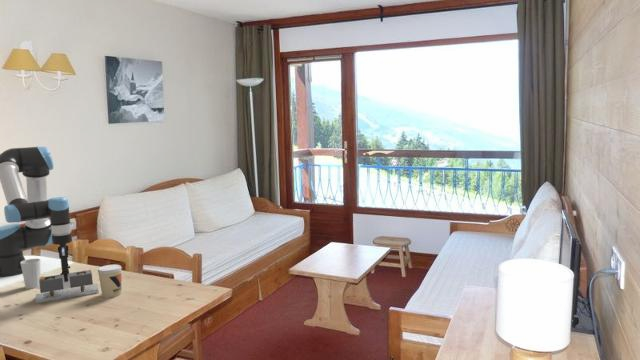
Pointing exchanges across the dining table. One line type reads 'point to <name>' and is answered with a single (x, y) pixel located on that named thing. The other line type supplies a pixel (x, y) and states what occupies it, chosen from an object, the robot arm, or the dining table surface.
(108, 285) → the coffee cup
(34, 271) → the cup
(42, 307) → the dining table surface
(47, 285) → the grey rectangular block
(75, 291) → the grey plate brass knobs
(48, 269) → the dining table surface
